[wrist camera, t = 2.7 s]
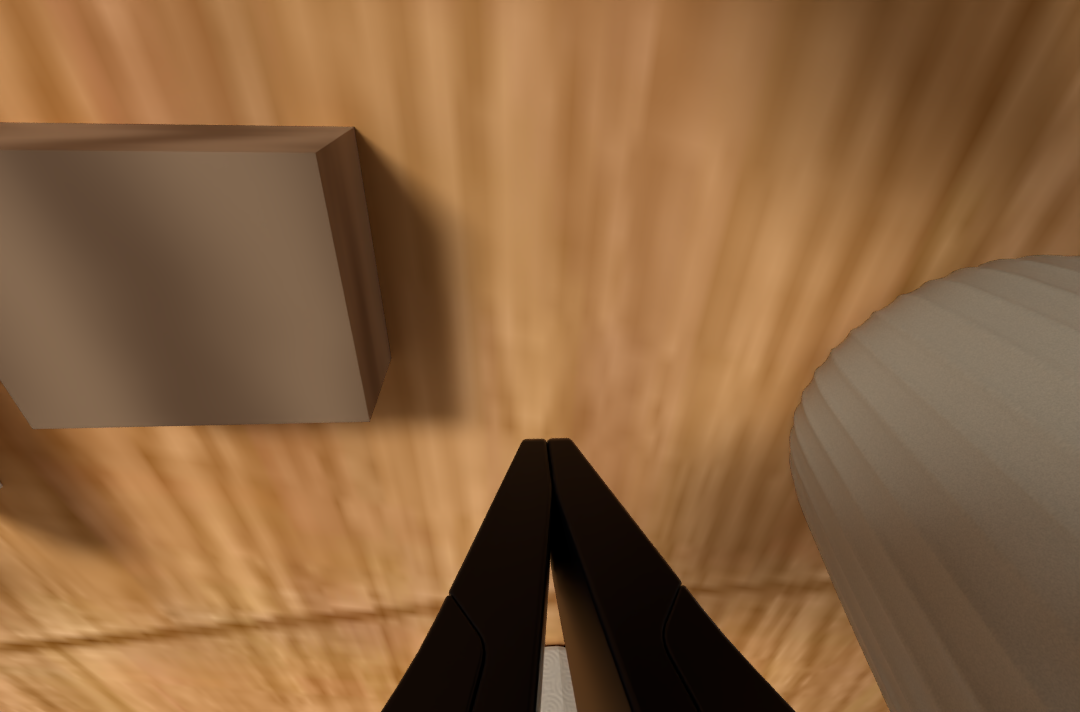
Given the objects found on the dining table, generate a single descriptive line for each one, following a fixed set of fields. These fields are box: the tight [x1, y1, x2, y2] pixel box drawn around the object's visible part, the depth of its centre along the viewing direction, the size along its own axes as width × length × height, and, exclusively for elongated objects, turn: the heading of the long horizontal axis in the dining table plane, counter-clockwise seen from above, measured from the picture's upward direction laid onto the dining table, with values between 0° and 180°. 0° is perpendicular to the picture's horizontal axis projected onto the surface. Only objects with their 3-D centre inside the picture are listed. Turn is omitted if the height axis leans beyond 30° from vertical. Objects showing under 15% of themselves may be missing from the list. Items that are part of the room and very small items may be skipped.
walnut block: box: [0, 122, 391, 429], centre depth 15 cm, size 10×8×4 cm
